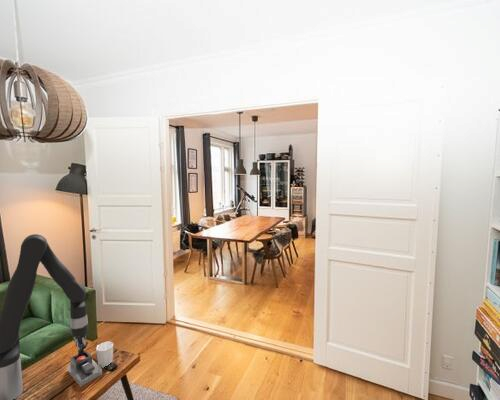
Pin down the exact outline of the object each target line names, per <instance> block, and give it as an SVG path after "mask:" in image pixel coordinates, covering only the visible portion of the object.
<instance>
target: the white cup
mask: <svg viewBox="0 0 500 400" xmlns="http://www.w3.org/2000/svg"><path fill="white" fill-rule="evenodd" d="M96 358H97V364H98V365H99V366H100V367H101V368H103V369H104V367H105V366H107V365H108V364H110V363H111V362H112V363H113V360H114V359H113V358H114V342H112V341H109V340H108V341H104V342H102V343H99V344H98V345H97V346H96ZM105 368H106V367H105Z"/></svg>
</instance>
